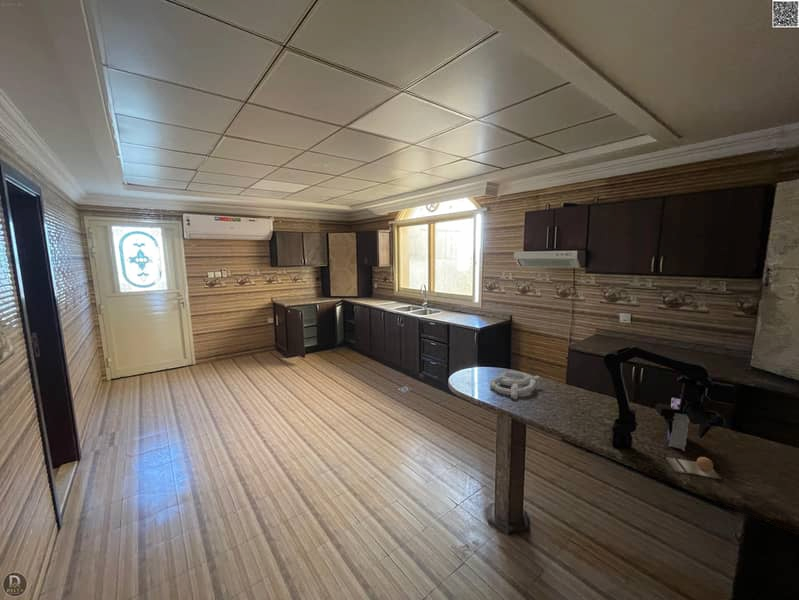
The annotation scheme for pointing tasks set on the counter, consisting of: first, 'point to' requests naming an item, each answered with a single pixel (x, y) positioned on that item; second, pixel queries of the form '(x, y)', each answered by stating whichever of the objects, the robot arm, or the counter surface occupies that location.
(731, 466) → the counter surface
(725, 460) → the counter surface
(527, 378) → the pretzel
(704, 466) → the ball
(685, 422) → the candy box
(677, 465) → the board
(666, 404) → the robot arm
